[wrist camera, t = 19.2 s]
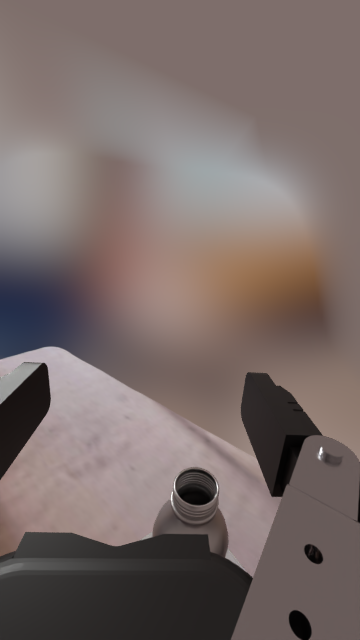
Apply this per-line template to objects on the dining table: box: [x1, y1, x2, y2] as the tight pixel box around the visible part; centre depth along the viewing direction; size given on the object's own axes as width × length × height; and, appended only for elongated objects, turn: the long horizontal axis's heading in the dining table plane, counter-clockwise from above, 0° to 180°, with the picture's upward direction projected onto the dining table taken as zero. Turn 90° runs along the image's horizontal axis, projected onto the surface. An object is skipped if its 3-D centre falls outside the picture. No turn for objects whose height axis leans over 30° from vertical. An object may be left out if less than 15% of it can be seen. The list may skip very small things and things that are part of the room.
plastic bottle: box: [152, 467, 229, 557], centre depth 24 cm, size 6×7×20 cm
